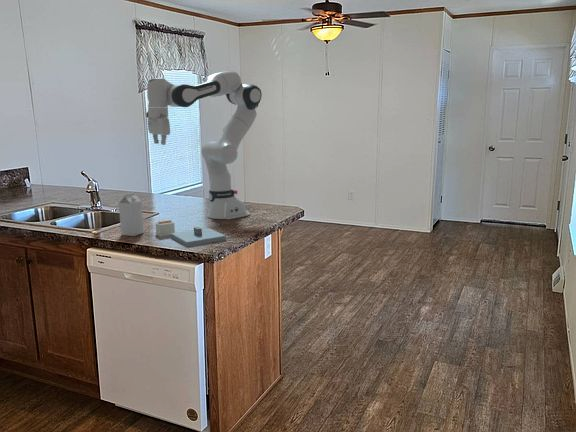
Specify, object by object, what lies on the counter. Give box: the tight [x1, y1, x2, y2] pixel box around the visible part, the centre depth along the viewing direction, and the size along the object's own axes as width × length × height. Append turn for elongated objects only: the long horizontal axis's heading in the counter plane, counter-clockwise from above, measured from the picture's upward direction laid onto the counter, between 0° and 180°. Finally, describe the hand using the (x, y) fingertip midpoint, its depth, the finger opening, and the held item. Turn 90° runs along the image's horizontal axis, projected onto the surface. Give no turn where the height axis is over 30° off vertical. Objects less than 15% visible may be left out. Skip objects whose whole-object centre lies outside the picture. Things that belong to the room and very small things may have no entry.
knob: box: [154, 219, 176, 238], centre depth 230 cm, size 5×7×6 cm
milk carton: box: [118, 191, 145, 237], centre depth 231 cm, size 7×7×19 cm
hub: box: [170, 226, 227, 248], centre depth 222 cm, size 18×18×5 cm
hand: (159, 144), depth 237 cm, fingers open, 8 cm apart
